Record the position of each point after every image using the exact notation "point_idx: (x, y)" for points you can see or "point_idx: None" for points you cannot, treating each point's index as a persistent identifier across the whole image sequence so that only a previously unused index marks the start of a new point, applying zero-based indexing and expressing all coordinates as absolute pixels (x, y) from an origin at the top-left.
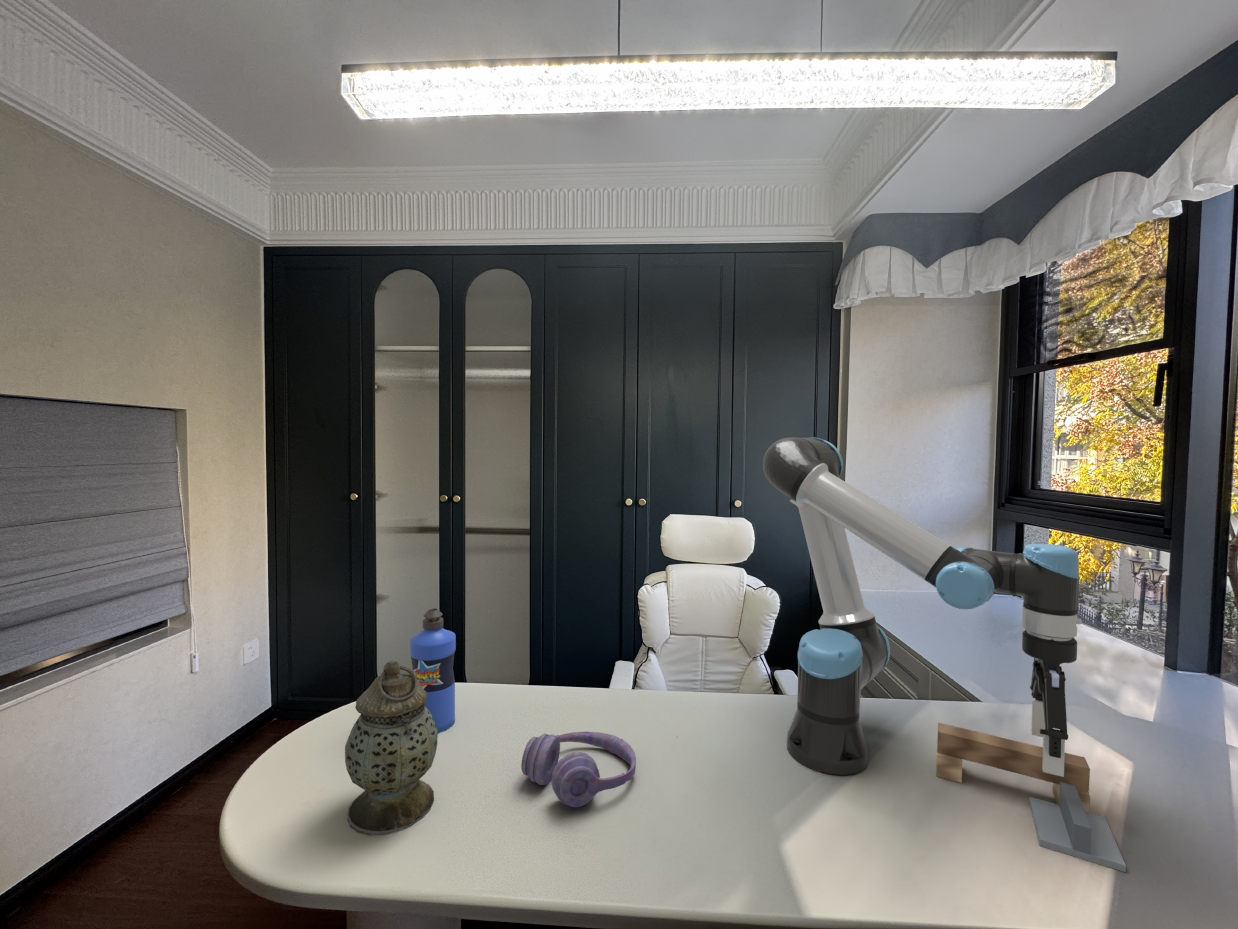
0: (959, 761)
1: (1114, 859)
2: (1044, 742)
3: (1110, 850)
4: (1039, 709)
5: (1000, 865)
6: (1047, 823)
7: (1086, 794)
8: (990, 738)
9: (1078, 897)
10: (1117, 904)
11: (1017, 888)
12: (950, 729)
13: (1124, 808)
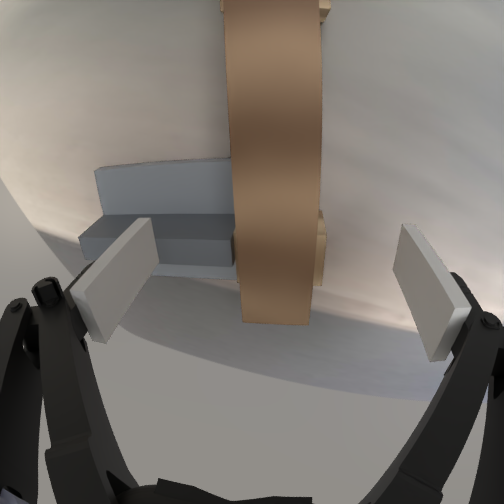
0: (221, 4)
1: None
2: (88, 270)
3: None
4: (432, 306)
5: (30, 123)
6: (149, 185)
7: (237, 277)
8: (284, 74)
9: (40, 206)
10: (59, 242)
11: (12, 146)
12: None
13: (321, 310)
